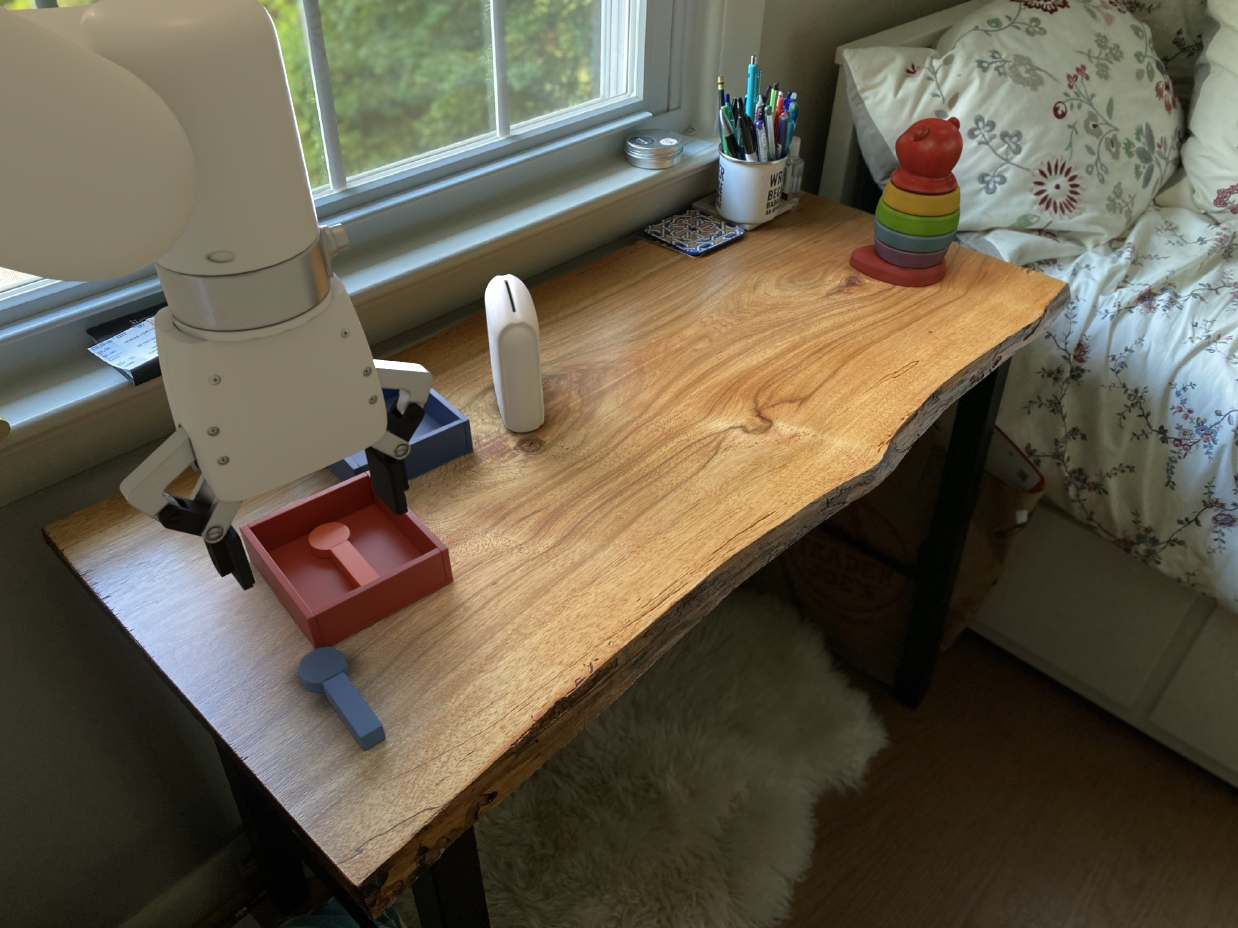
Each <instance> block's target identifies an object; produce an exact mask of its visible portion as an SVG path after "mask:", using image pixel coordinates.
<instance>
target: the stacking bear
mask: <svg viewBox="0 0 1238 928" xmlns="http://www.w3.org/2000/svg"><path fill="white" fill-rule="evenodd" d="M960 128H961V122H960V120H959V118H957V117H956V116H950V117H949V118H948V119H943V118H939V117H927V118H923V119H920V120H917V121H915V122H914V123H912V124H911V125H910V126H909V127H908V128H907V129H906V130H905V131H904V132H902V134H901V135H899V136H898V137H897V138H896V140H895V145H894V148H895V149H894V150H895V155H896V158H897V161H898V163H899V166H897V167H896V168H895V169H894V170H893V171H892V172H891V174H890V178H889V179H888V181H887V182H886V185H885V186H884V189H883V191H882V195H881V196H880V198H879V200H878V203H877V205H876V209H875V213H874V214H875V216H874V224H873V231H874V236H873V241H874V243H872V244H867V245H862V246H860V247H857V248H855V249H853V251H852V252H851V255H850V256H849V264H850V265H851V266H852V267H853V268H855V269H856V270H857V271H859V272H861V273H863V274H865V275H867V276H869V277H871V278H874V279H877V280H879V281H883V282H885V283H889V284H893V285H898V286H904V287H924V286H929V285H933V284H935V283H938V282H939V281H941V280H942V279H943V278H944V277H945V275H946V272H947V263H946V258H945V257H946V255H947V253H948V251H949V249H950V247H951V245H952V243H953V241H954V239H955V237H956V234H957V231H958V228H959V223H960V218H961V217H960V216H961V187H960V185H959V184H958V180H957V177H956V176H955V174H954V173H953V170H954V169H955V167H956V166H957V164H958V162H959V161H960V158H961V156H962V152H963V150H964V149H963V148H964V141H963V136H962V132H961V131H960Z"/></svg>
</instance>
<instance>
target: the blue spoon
mask: <svg viewBox="0 0 1238 928" xmlns="http://www.w3.org/2000/svg"><path fill="white" fill-rule="evenodd" d="M346 658H347V657H346V655H345V653H344V652H343V651H341V649H338V648H336V647H332V646H330V647H322V648H318V649H313V650H311V651H309V652H308V653H306V654H305V655H304V656H303V657H302V658H301V660H300V662H299V664H298V666H297V674H298V677H299V679H300V683H301V684H302V686H303V688H304V689H306V690H308V691H310V692H312V693H324V696H325V698H326V699H327V701H328V702H329V703H330V705H331V706H332V707H333V709H334V710H335V712H336V713H337V714H338V716H339V717H340V719H341V720H342V723H344V725H345V726H346V728H347V729H348V730H349V732H350V733H351V735H352V736H353V738H354V739H355V740H356V742H357V743H358V745H359V746H360V748H361V749H362V750H363V751H366V750H369V749H370V748H372V747H373V746H375V745H377V744H378V743H380V742H382V741H383V740H385V739H386V738H387V737H386V733H385V732H386V731H385V728H384V725H383V723H382V722H381V721H380V719H379V718H378V717H377V715H376V714H375V712H374V711H373V710H372V708H371V707H370V706H369V704H368V703H367V701H366V700H365V699H364V698H363V696H362V694H360V692H359V691H358V690H357V687H356V686H355V685H354V684H353V683H352V681H351V680H350V679H349V677H348V674H349V664H348V661H347V659H346Z"/></svg>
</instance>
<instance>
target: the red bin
mask: <svg viewBox="0 0 1238 928" xmlns="http://www.w3.org/2000/svg"><path fill="white" fill-rule="evenodd" d="M331 522H337V523H342V524H344V525H346V526H347V527H348V528H349V530H350V533H351V537H352V545H353V546H354V548H355V549H356V550H357V551H358V552H359V553H360V554H361V556H362V557H363V558H364V559H365V560H366V561H367V563H368V564H369V565H370V566H371V567H372V568H373V569H374V571H375V572H376V573H377V574H378V575H379V576H380V577H379V578H377V579H375V580H373V581H371V582H369V583H367V584H365V585H363V586H361V587H359V588H357V589H355V588H354V586H353V585H352V584H351V583H350V582H349V580H348V579H347V578H346V577H345V576H344V574H343V573H342V572H341V571H340V570H339V568H338V567H337V566H336V565H335V563H334V562H333V560H332V558H330V559H323V558H319V557H317V556H315V555H314V554H313V553H312V551H311V548H310V545H309V541H308V538H309V535H310V533H311V532H312V531H313V530H314V529H315V528H317V527H318V526H320V525H323V524H326V523H331ZM238 529H239V533H240V536H241V538H242V542H243V545H244V546H245V547H244V548H245V551H246V553H247V555H248V559H249V561H250V562H251V564H252V565H253V566H254V568H255V569H256V570H257V572H258V573H259V575H260V576H261V577H262V579H263V580H264V582H265V583H266V584H267V585H268V587H269V588H270V590H271V591H272V593H273V595H275V597H276V599H278V601H279V602H280V604H281V605H282V606H283V608H284V609H285V611H286V612H287V614H288V615H289V616H290V618H291V619H292V620H293V622H294V623H295V624H296V626H297V627H298V629H299V630H300V631H301V632H302V634H303V635H304V637H305V638H306V640H307V641H308V642H309V644H310V645H311V646H312V648H313V650H315V649H318V648H322V647H332V646H334V645H336V644H338V643H339V642H342V641H343V640H345V639H347V638H349V637H351V636H354V634H355V635H356V634H357V633H359V632H360V631H362V630H364V629H366V628H368V627H370V626H372V625H373V624H376V623H377V622H379V621H381V620H383V619H385V618H387V617H389V616H390V615H392V614H395V613H396V612H398V611H400V610H402V609H404V608H405V607H407V606H410V605H411V604H413V603H415V602H417V601H418V600H421V599H422V598H425V597H426V596H428V595H430V594H432V593H434V592H436V591H438V590H440V589H442V588H444V587H445V586H447V585H448V584H451V583H453V582H454V575H453V570H452V569H453V568H452V563H451V557H450V556H451V555H450V551H449V547H448V546H447V545H445V544H444V542H443V541H442V540H441V539H440V538H439V537H438V536H437V535H436V534H435V533H434V532H433V531H432V530H431V529H430V528H429V527H428V526H427V525H426V524H425V523H424V521H422V520H421V519H420V518H419V517H418V515H416V513H414V512H413V511H412V509H411V508H410V507H408V512H407V513H405V514H403V515H401V516H399V515H395V514H394V513H393V512H392V511H391V510H390V509H389V508H388V507H387V506H386V505H385V504H384V503H383V502H382V501H381V499H380V498H379V497H378V496H377V495H376V494H375V492H374V490H373V486H372V481H371V476H370V472H369V470H368V471H366V472H364V473H362V474H359V475H357V476H355V477H353V478H350V479H348V480H346V481H343V482H342V481H341V482H339V483H337V484H335V485H332V486H330V487H328V488H326V489H323V490H321V491H319V492H317V493H314V494H311V495H309V496H307V497H304V498H303V499H300V500H298V501H296V502H294V503H291V504H288V505H286V506H284V507H282V508H280V509H278V510H275V511H272V512H271V513H269V514H266V515H264V516H262V517H260V518H257V519H255V520H253V521H251V522H248V523H246V524H243V525H241V526H239V527H238Z"/></svg>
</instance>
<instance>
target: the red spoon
mask: <svg viewBox="0 0 1238 928" xmlns="http://www.w3.org/2000/svg"><path fill="white" fill-rule="evenodd" d="M308 541H309V545H310V548H311V551H312V553H313V554H314V555H315V556H317V557H319V558H323V559H330V558H332V560H333V562H334V563H335V565H336V566H337V567H338V568H339V570H340V571H341V572H342V573H343V574H344V576H345V577H346V578H347V579H348V580H349V582H350V583H351V584H352V585H353V586H354V588H355V589H357V588H359V587H361V586H363V585H365V584H367V583H369V582H371V581H373V580H375V579H377V578H379V577H380V576H379V575H378V574H377V573H376V572H375V571H374V569H373V568H372V567H371V566H370V565H369V564H368V563H367V561H366V560H365V559H364V558H363V557H362V556H361V554H360V553H359V552H358V551H357V550H356V549H355V548H354V546H353V545H352V537H351V533H350V530H349V528H348V527H347V526H346V525H344V524H342V523H337V522H331V523H326V524H323V525H320V526H318V527H317V528H315V529H314V530H313V531H312V532H311V533H310V535H309V538H308Z"/></svg>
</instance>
